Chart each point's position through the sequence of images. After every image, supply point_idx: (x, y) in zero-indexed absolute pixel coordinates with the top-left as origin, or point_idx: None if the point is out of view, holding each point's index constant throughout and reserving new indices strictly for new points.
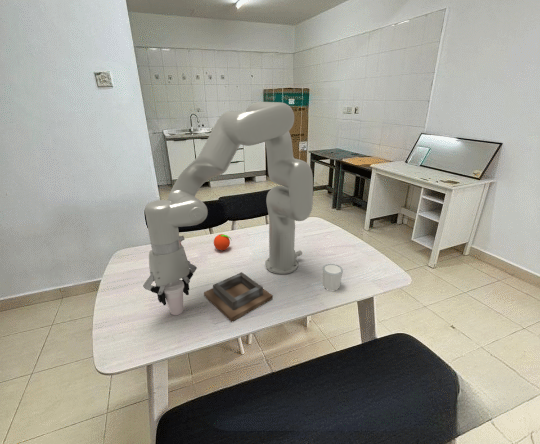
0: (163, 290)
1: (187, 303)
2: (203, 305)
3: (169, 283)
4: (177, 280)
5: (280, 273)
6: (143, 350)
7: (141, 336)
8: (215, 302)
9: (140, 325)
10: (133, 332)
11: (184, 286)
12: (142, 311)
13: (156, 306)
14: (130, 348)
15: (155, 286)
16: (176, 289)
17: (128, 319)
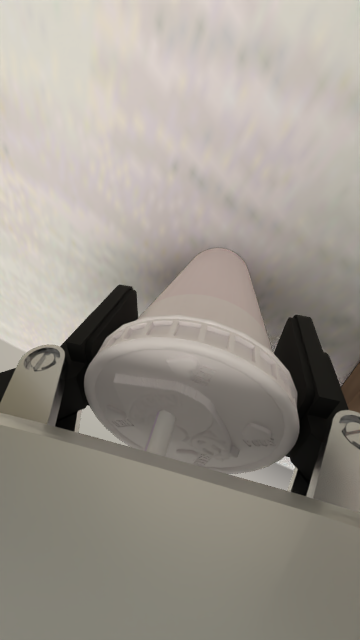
0: (92, 407)
1: (293, 269)
2: (326, 338)
3: (151, 430)
4: (266, 412)
5: None
6: (59, 340)
7: (57, 293)
8: (357, 396)
9: (57, 236)
10: (32, 253)
11: None
12: (74, 126)
13: (154, 146)
14: (26, 309)
15: (10, 384)
16: (177, 459)
17: (4, 141)
